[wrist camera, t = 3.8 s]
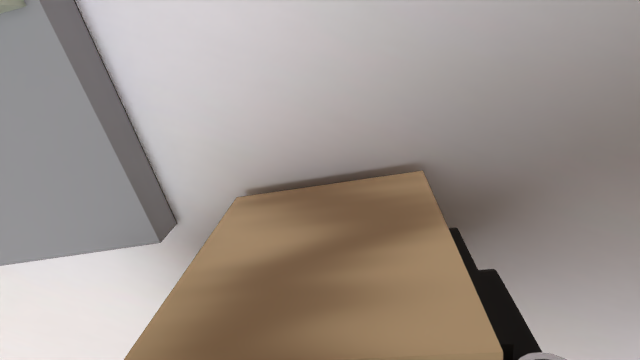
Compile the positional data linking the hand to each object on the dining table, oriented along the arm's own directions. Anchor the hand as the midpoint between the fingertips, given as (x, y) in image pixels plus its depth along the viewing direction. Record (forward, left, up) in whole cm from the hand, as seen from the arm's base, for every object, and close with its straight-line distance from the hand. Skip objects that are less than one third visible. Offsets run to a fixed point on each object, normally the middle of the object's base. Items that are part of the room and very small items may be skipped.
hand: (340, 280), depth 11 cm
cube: (0, 0, -1) cm, 1 cm away
